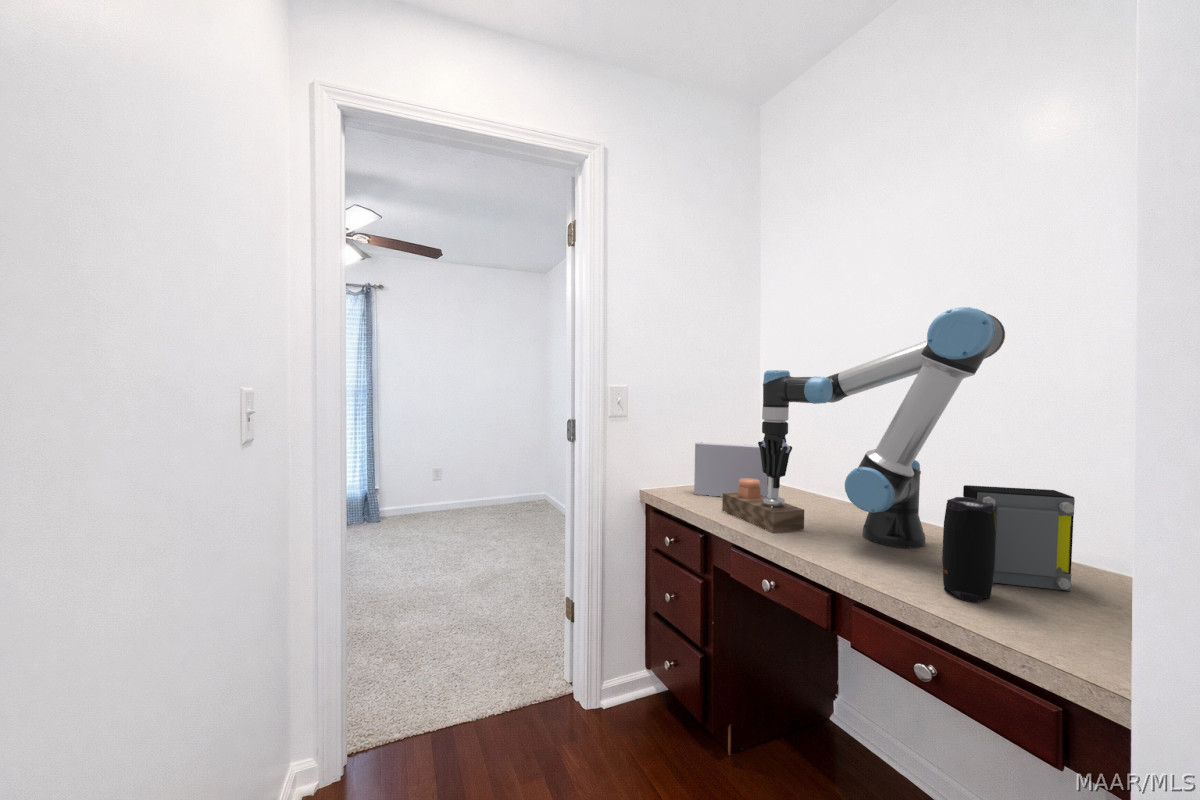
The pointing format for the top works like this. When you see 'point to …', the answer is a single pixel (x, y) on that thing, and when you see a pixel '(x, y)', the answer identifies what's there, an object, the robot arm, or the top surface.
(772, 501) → the metal button
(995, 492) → the electrical component
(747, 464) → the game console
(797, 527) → the wooden base block
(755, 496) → the terracotta button
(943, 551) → the portable speaker
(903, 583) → the top surface
